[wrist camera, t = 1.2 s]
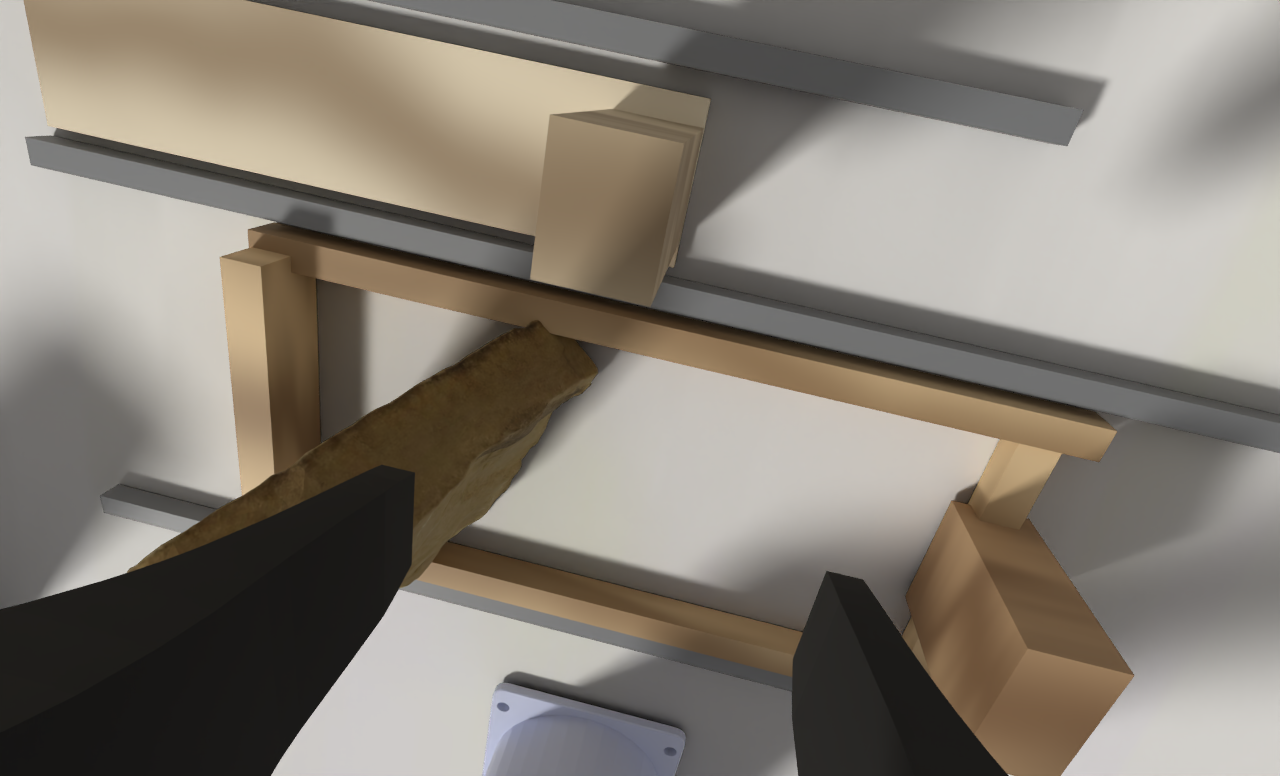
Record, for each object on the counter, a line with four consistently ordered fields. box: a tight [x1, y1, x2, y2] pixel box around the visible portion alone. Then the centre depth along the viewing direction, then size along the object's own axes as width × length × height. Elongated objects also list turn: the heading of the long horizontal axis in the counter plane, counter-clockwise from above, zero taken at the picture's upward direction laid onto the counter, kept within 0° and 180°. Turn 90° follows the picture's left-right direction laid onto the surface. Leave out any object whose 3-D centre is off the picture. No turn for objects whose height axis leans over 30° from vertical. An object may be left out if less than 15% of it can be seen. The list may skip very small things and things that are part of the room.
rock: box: [127, 320, 598, 588], centre depth 19 cm, size 11×9×10 cm
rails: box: [25, 0, 1280, 691], centre depth 20 cm, size 20×37×1 cm, turn 79°
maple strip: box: [24, 0, 711, 307], centre depth 15 cm, size 4×19×6 cm, turn 79°
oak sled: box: [220, 222, 1134, 776], centre depth 19 cm, size 12×25×6 cm, turn 79°
